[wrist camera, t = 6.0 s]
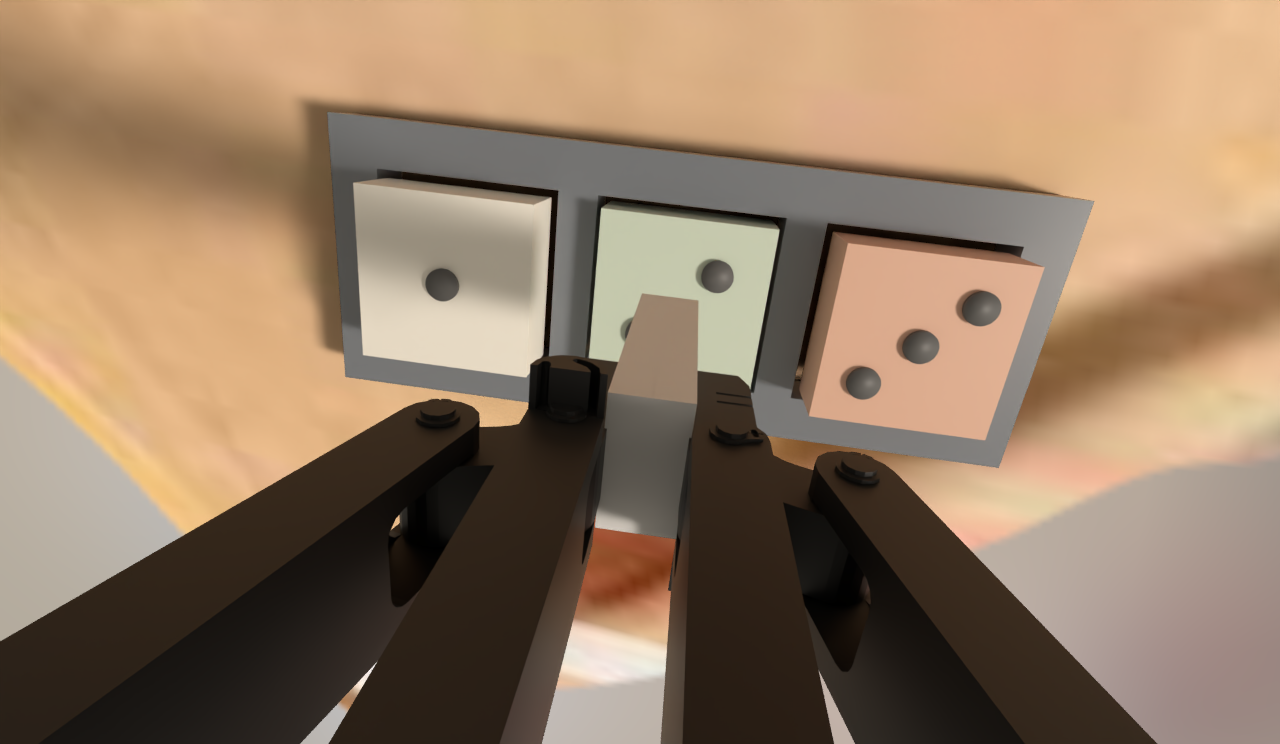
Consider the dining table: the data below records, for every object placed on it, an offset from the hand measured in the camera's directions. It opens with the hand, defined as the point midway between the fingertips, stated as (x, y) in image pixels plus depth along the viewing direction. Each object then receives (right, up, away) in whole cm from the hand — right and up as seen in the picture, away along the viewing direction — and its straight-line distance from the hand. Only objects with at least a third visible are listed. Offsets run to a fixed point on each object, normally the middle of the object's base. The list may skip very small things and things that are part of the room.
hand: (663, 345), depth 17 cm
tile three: (+9, +1, +6) cm, 11 cm away
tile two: (+1, +3, +8) cm, 8 cm away
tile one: (-7, +3, +7) cm, 10 cm away
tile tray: (+1, +3, +8) cm, 9 cm away
